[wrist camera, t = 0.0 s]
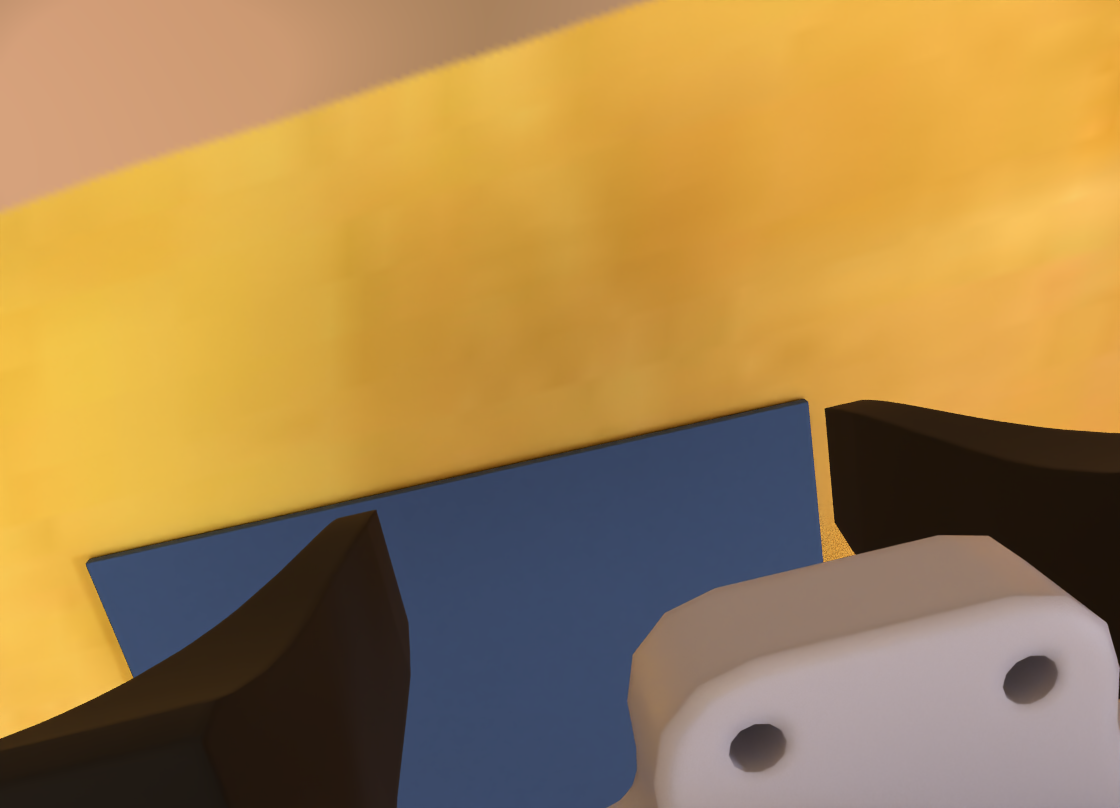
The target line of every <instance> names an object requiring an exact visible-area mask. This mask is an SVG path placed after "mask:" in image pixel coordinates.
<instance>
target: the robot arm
mask: <svg viewBox="0 0 1120 808" xmlns="http://www.w3.org/2000/svg"><path fill="white" fill-rule="evenodd" d="M825 416H826V427H827V439H828V450H829V462H830V474H831V485H832V497H833V508H834V520H835V524H836V525H837V527H838V528H839V530H840V531H841V533H842V535H843V536H844V538H845V539H846V541H847V542H848V544H849V546H850V547H851V549H852V550H853V552H854V553H855V554H856V555H853V556H849V557H844V558H840V559H836V560H832V561H828V562H823V563H819V564H815V565H811V566H806V567H802V568H798V569H794V570H790V571H785V572H781V573H777V574H773V575H769V576H764V577H760V578H756V579H752V580H747V581H743V582H739V583H735V584H731V585H726V586H722V587H718V588H714V589H712V590H710V591H708V592H706V593H704V594H702V595H700V596H698V597H696V598H694V599H692V600H690V601H688V602H686V603H684V604H682V605H680V606H678V607H676V608H674V609H672V610H670V611H668V612H666V613H664V615H663V616H662V617H661V618H660V620H659V621H658V622H657V624H656V625H655V626H654V628H653V629H652V630H651V631H650V633H649V634H648V635H647V637H646V638H645V639H644V641H643V642H642V643H641V645H640V646H639V647H638V648H637V650H636V651H635V652H634V654H633V656H632V665H631V673H630V682H629V690H628V698H627V703H628V708H629V713H630V718H631V724H632V729H633V734H634V739H635V744H636V756H637V771H636V775H635V779H634V782H633V785H632V787H631V788H630V789H629V791H628V792H627V793H626V794H625V795H624V797H623V798H622V799H621V800H620V801H618V802H616V803H614V804H613V805H611V806H609V807H607V808H1120V433H1103V432H1089V431H1075V430H1062V429H1052V428H1043V427H1035V426H1028V425H1021V424H1014V423H1007V422H1000V421H994V420H988V419H982V418H976V417H971V416H965V415H960V414H954V413H949V412H944V411H939V410H933V409H928V408H923V407H917V406H912V405H906V404H900V403H894V402H887V401H878V400H860V401H855V402H851V403H846V404H842V405H838V406H833V407H829V408H825ZM410 678H411V668H410V641H409V622H408V618H407V615H406V611H405V608H404V604H403V601H402V598H401V594H400V591H399V587H398V584H397V580H396V577H395V573H394V570H393V566H392V563H391V559H390V556H389V552H388V549H387V545H386V542H385V538H384V535H383V531H382V528H381V524H380V521H379V517H378V514H377V510H372V511H367V512H363V513H358V514H354V515H349V516H345V517H340V518H337V519H335V520H334V521H332V522H331V523H330V524H329V525H327V526H326V527H325V528H324V529H323V530H322V531H321V532H320V533H319V534H318V535H317V536H316V537H315V538H314V539H313V540H312V541H311V542H310V543H309V544H308V545H307V546H306V547H305V548H304V549H303V550H302V551H300V552H299V553H298V554H297V555H296V556H295V557H294V558H293V559H292V560H291V561H290V562H289V563H288V564H287V565H286V566H285V567H284V568H283V569H282V570H281V571H280V572H279V573H278V574H277V575H276V576H275V577H273V578H272V579H271V580H270V581H269V582H268V583H267V584H265V585H264V586H263V587H262V588H261V589H260V590H259V591H258V592H256V593H255V594H254V595H253V596H252V597H251V598H250V599H248V600H247V601H246V602H245V603H244V604H243V605H242V606H240V607H239V608H238V609H237V610H236V611H234V612H233V613H232V614H231V615H229V616H228V617H227V618H225V619H224V620H223V621H222V622H220V623H219V624H218V625H216V626H215V627H213V628H212V629H211V630H209V631H208V632H206V633H205V634H204V635H202V636H201V637H199V638H198V639H196V640H195V641H194V642H192V643H191V644H189V645H188V646H186V647H185V648H183V649H182V650H180V651H179V652H177V653H175V654H173V655H172V656H170V657H168V658H167V659H165V660H163V661H162V662H160V663H158V664H157V665H155V666H153V667H151V668H150V669H148V670H146V671H145V672H143V673H141V674H140V675H138V676H136V677H135V678H133V679H131V680H129V681H128V682H126V683H124V684H122V685H120V686H118V687H116V688H114V689H112V690H110V691H108V692H106V693H104V694H102V695H100V696H99V697H97V698H95V699H93V700H90V701H88V702H86V703H84V704H82V705H80V706H78V707H75V708H73V709H71V710H69V711H67V712H65V713H63V714H60V715H58V716H56V717H53V718H51V719H49V720H47V721H44V722H42V723H40V724H37V725H35V726H32V727H29V728H27V729H24V730H22V731H19V732H17V733H14V734H11V735H9V736H6V737H4V738H1V739H0V808H397V797H398V788H399V779H400V770H401V761H402V752H403V744H404V735H405V726H406V717H407V708H408V698H409V688H410Z"/></svg>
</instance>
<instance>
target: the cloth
mask: <svg viewBox="0 0 1120 808" xmlns="http://www.w3.org/2000/svg"><path fill="white" fill-rule="evenodd" d="M372 510H377V514H378V517H379V521H380V524H381V528H382V531H383V535H384V538H385V542H386V545H387V549H388V552H389V556H390V559H391V563H392V566H393V570H394V573H395V577H396V580H397V584H398V587H399V591H400V594H401V598H402V601H403V604H404V608H405V611H406V615H407V618H408V622H409V641H410V668H411V678H410V688H409V698H408V708H407V717H406V726H405V735H404V744H403V752H402V761H401V770H400V779H399V788H398V797H397V808H607V807H609V806H611V805H613V804H614V803H616V802H618V801H620V800H621V799H622V798H623V797H624V795H625V794H626V793H627V792H628V791H629V789H630V788H631V787H632V785H633V782H634V779H635V775H636V771H637V756H636V744H635V739H634V734H633V729H632V724H631V718H630V713H629V708H628V703H627V698H628V690H629V682H630V673H631V665H632V656H633V654H634V652H635V651H636V650H637V648H638V647H639V646H640V645H641V643H642V642H643V641H644V639H645V638H646V637H647V635H648V634H649V633H650V631H651V630H652V629H653V628H654V626H655V625H656V624H657V622H658V621H659V620H660V618H661V617H662V616H663V615H664V613H666V612H668V611H670V610H672V609H674V608H676V607H678V606H680V605H682V604H684V603H686V602H688V601H690V600H692V599H694V598H696V597H698V596H700V595H702V594H704V593H706V592H708V591H710V590H712V589H714V588H718V587H722V586H726V585H731V584H735V583H739V582H743V581H747V580H752V579H756V578H760V577H764V576H769V575H773V574H777V573H781V572H785V571H790V570H794V569H798V568H802V567H806V566H811V565H815V564H819V563H823V556H822V545H821V534H820V523H819V513H818V502H817V491H816V480H815V470H814V459H813V448H812V437H811V427H810V416H809V405H808V401H806V400H805V399H801V400H797V401H792V402H788V403H783V404H779V405H774V406H770V407H766V408H761V409H757V410H752V411H748V412H743V413H739V414H734V415H730V416H725V417H721V418H716V419H712V420H708V421H703V422H699V423H694V424H690V425H685V426H681V427H676V428H672V429H667V430H663V431H659V432H654V433H650V434H645V435H641V436H636V437H632V438H627V439H623V440H618V441H614V442H609V443H605V444H601V445H596V446H592V447H587V448H583V449H578V450H574V451H569V452H565V453H560V454H556V455H551V456H547V457H543V458H538V459H534V460H529V461H525V462H520V463H516V464H511V465H507V466H502V467H498V468H493V469H489V470H485V471H480V472H476V473H471V474H467V475H462V476H458V477H453V478H449V479H444V480H440V481H436V482H431V483H427V484H422V485H418V486H413V487H409V488H404V489H400V490H395V491H391V492H386V493H382V494H378V495H373V496H369V497H364V498H360V499H355V500H351V501H346V502H342V503H337V504H333V505H328V506H324V507H320V508H315V509H311V510H306V511H302V512H297V513H293V514H288V515H284V516H279V517H275V518H270V519H266V520H262V521H257V522H253V523H248V524H244V525H239V526H235V527H230V528H226V529H221V530H217V531H213V532H208V533H204V534H199V535H195V536H190V537H186V538H181V539H177V540H172V541H168V542H163V543H159V544H155V545H150V546H146V547H141V548H137V549H132V550H128V551H123V552H119V553H114V554H110V555H105V556H101V557H97V558H92V559H89V560H88V562H87V563H86V567H87V569H88V571H89V574H90V576H91V578H92V581H93V583H94V585H95V588H96V590H97V593H98V595H99V597H100V600H101V602H102V604H103V607H104V609H105V611H106V614H107V616H108V619H109V621H110V623H111V626H112V628H113V630H114V633H115V635H116V637H117V640H118V642H119V645H120V647H121V649H122V652H123V654H124V656H125V659H126V661H127V663H128V666H129V668H130V671H131V673H132V675H133V678H135V677H136V676H138V675H140V674H141V673H143V672H145V671H146V670H148V669H150V668H151V667H153V666H155V665H157V664H158V663H160V662H162V661H163V660H165V659H167V658H168V657H170V656H172V655H173V654H175V653H177V652H179V651H180V650H182V649H183V648H185V647H186V646H188V645H189V644H191V643H192V642H194V641H195V640H196V639H198V638H199V637H201V636H202V635H204V634H205V633H206V632H208V631H209V630H211V629H212V628H213V627H215V626H216V625H218V624H219V623H220V622H222V621H223V620H224V619H225V618H227V617H228V616H229V615H231V614H232V613H233V612H234V611H236V610H237V609H238V608H239V607H240V606H242V605H243V604H244V603H245V602H246V601H247V600H248V599H250V598H251V597H252V596H253V595H254V594H255V593H256V592H258V591H259V590H260V589H261V588H262V587H263V586H264V585H265V584H267V583H268V582H269V581H270V580H271V579H272V578H273V577H275V576H276V575H277V574H278V573H279V572H280V571H281V570H282V569H283V568H284V567H285V566H286V565H287V564H288V563H289V562H290V561H291V560H292V559H293V558H294V557H295V556H296V555H297V554H298V553H299V552H300V551H302V550H303V549H304V548H305V547H306V546H307V545H308V544H309V543H310V542H311V541H312V540H313V539H314V538H315V537H316V536H317V535H318V534H319V533H320V532H321V531H322V530H323V529H324V528H325V527H326V526H327V525H329V524H330V523H331V522H332V521H334V520H335V519H337V518H340V517H345V516H349V515H354V514H358V513H363V512H367V511H372Z"/></svg>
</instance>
